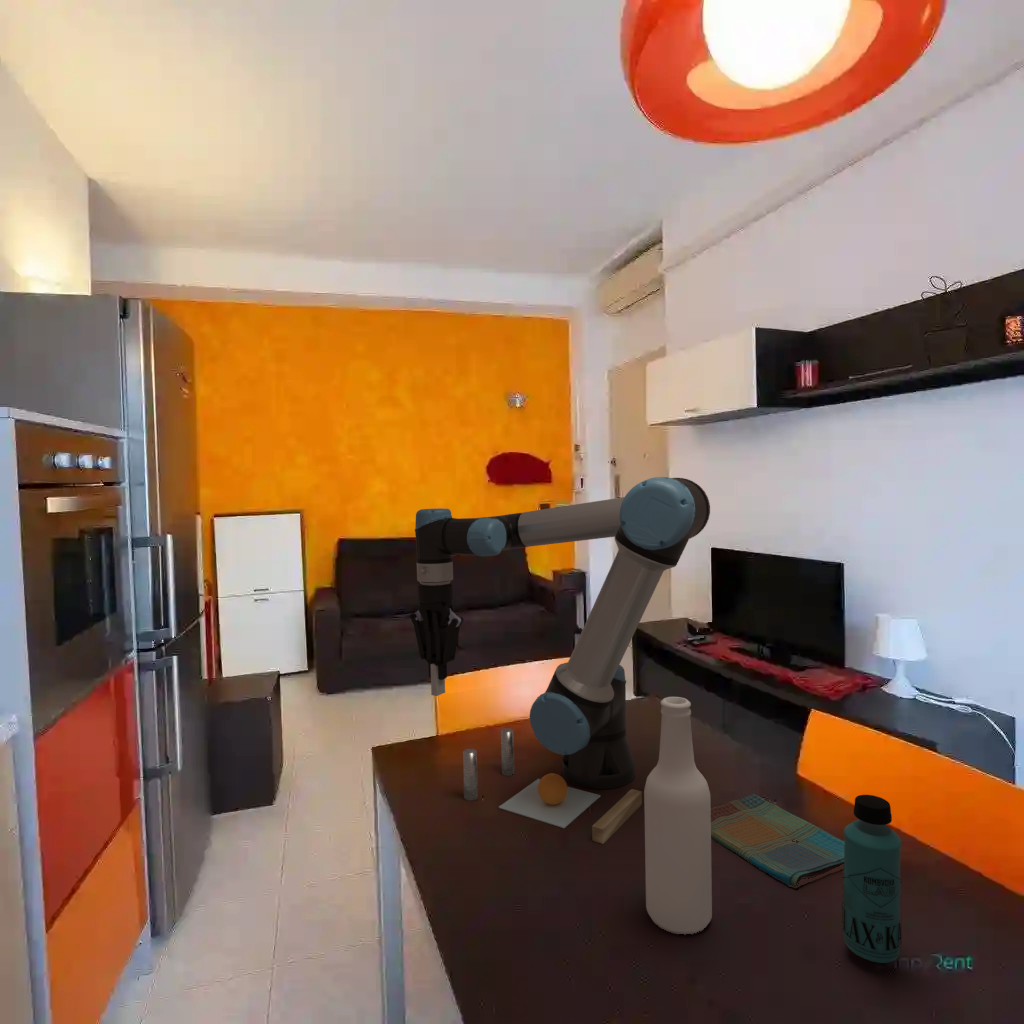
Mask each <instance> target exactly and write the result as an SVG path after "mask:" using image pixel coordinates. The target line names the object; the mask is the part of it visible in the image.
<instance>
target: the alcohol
mask: <svg viewBox="0 0 1024 1024" xmlns="http://www.w3.org/2000/svg"><path fill="white" fill-rule="evenodd" d="M660 705H661V708H660V713H661V721H660V723H661V724H660V739H659V752H658V753H659V755H658V761H657V764H656V765H655V766H654V768H653V769H652V770H651V771H650V772H649V774H648V775H647V777H646V781H645V785H644V789H643V790H644V791H643V793H644V794H643V795H644V797H643V799H644V800H643V802H644V807H643V808H644V850H645V851H644V853H645V854H644V856H645V857H644V858H645V909H646V911H647V914H648V915H649V917H650V918H651V920H652V922H653V923H654V924H655V925H656V926H657V925H658V928H660V929H662V930H663V929H664V930H663V931H665V930H666V932H668V933H670V932H671V934H674V935H679V934H684V936H687V935H686V934H691V935H695V934H698V933H700V932H702V931H704V930H705V929H706V928H707V926H708V925H709V924H710V923H711V920H712V918H713V909H712V908H713V896H712V895H713V893H712V892H713V890H712V887H713V886H712V885H713V884H712V882H713V881H712V877H713V876H712V839H711V808H712V807H711V804H712V803H711V800H712V799H711V791H710V788H709V784H708V781H707V780H706V778H705V777H704V775H703V774H702V773H701V772H700V771H699V769H698V768H697V766H696V762H695V756H694V746H693V745H694V744H693V736H692V735H693V734H692V733H693V732H692V724H691V723H692V722H691V715H692V710H691V708H690V707H691V706H692V703H691V701H689V699H687V698H685V697H681V696H667V697H664V698H663V699H662V700H660ZM704 928H705V929H704ZM699 931H700V932H699ZM697 932H698V933H697ZM694 933H695V934H694Z"/></svg>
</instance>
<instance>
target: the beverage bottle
mask: <svg viewBox="0 0 1024 1024" xmlns="http://www.w3.org/2000/svg"><path fill="white" fill-rule="evenodd" d="M853 815H854V817H855V818H857V820H853V821H852V822H851V823H849V824H847V825H846V826H845V827H844V829H843V836H844V841H845V842H844V869H843V876H842V877H841V878H842V879H843V886H842V887H841V888H842V889H843V894H842V895H841V897H842V901H841V902H842V903H841V904H842V905H841V906H842V907H841V910H842V912H841V916H842V918H841V923H842V924H843V925H842V927H841V929H842V930H841V931H842V938H843V939H844V943H845V945H846V946H847V948H848V949H849V950H850V951H851V952H853V954H855V955H857V956H858V957H860V958H862V959H864V960H868V961H870V962H875V963H879V964H881V963H883V964H885V963H886V964H887V963H891V962H894V961H896V959H898V957H899V956H900V954H901V951H902V946H901V945H902V942H903V941H902V938H903V937H902V935H903V934H902V932H903V931H902V928H903V925H902V924H901V903H902V893H901V891H902V890H901V888H902V883H903V882H902V879H901V849H902V840H901V839H900V837H899V836H898V834H897V833H896V832H895V831H894V830H893V829H891V827H890V826H888V824H891V822H892V820H893V816H892V809H891V804H890V802H889V801H888V800H886V799H884V798H883V797H879V796H876V795H872V794H860V795H857V796H856V797H855V798H854V807H853Z"/></svg>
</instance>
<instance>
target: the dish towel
mask: <svg viewBox="0 0 1024 1024" xmlns="http://www.w3.org/2000/svg"><path fill="white" fill-rule="evenodd" d="M793 839H794V840H793ZM711 840H713V841H715V842H716V843H718V844H719V845H721V846H723V847H724V848H725V849H727V848H728V849H727V850H729V849H730V850H729V851H731V852H732V851H733V852H735V853H736V854H735V853H734V854H735V855H737V854H738V855H739V856H741V857H742V858H744V859H746V860H747V861H749V862H751V863H752V864H754V865H755V866H757V867H759V868H760V869H761V870H764V871H765V872H767V873H768V874H770V875H772V876H774V877H776V878H777V879H780V880H781V881H783V882H784V883H786V884H787V885H792V886H794V887H796V886H798V885H797V883H798V882H799V881H800V880H801V879H806V878H808V879H809V878H813V877H816V876H818V875H821V874H824V873H826V872H828V871H830V870H832V869H834V868H836V867H839V866H840V865H842V864H844V842H845V840H842V839H840V838H838V837H837V836H835V835H833V834H831V833H830V832H829V831H826V830H824V829H822V828H821V827H819V826H817V825H815V824H813V823H810V821H809V822H808V820H807V821H806V820H805V819H803V818H801V817H798V816H797V815H795V814H792V813H790V812H788V811H787V810H785V809H783V808H781V807H780V806H778V805H776V804H774V803H771V801H770V802H769V801H767V800H766V799H764V798H762V797H761V796H759V795H757V794H755V793H751V794H749V795H747V796H743V797H740V798H738V799H734V800H731V801H729V802H726V803H723V804H719V805H715V806H713V807H711ZM792 840H793V841H795V842H792ZM796 840H797V841H799V842H798V843H796ZM733 852H732V853H733ZM738 855H737V856H738ZM739 856H738V857H739ZM741 857H740V858H741ZM742 858H741V859H742ZM744 859H743V860H744ZM747 861H746V862H747ZM749 862H748V863H749ZM752 864H751V865H752ZM755 866H754V867H755ZM760 869H759V870H760ZM761 870H760V871H761ZM765 872H764V873H765ZM768 874H767V875H768ZM770 875H769V876H770ZM784 883H783V884H784ZM798 884H799V883H798ZM787 885H786V886H787Z"/></svg>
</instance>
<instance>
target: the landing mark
mask: <svg viewBox="0 0 1024 1024" xmlns="http://www.w3.org/2000/svg"><path fill="white" fill-rule="evenodd" d="M541 779H542V778H537V779H536V780H534V781H533V782H532V783H530V784H529V785H527V786H526V787H524V788H523V789H521V791H519V792H518V793H516V794H515V795H513V796H512V797H510V798H509V799H508V800H506V801H505V802H503V803H502V804H500V805H499V806H498V809H500V810H503V811H506V812H510V813H514V814H516V815H519V816H523V817H526V818H529V819H532V820H535V821H539V822H542V823H545V824H547V825H552V826H555V827H559V828H562V829H565V828H566V827H567V826H569V825H570V824H571V823H572V822H574V820H576V819H577V818H579V817H578V816H580V815H581V814H582V813H584V811H586V810H587V809H588V808H589V807H590V806H592V804H594V803H595V802H596V801H597V800H598V799H599V798H601V794H597V793H593V792H589V791H585V790H582V789H578V788H575V787H571V786H568V785H567V795H566V797H565V799H564V800H563V801H562V802H561V803H559V804H556V805H550V804H547V803H545V802H544V801H543V800H542V799H541V798H540V796H539V793H538V785H539V782H540V780H541Z"/></svg>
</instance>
